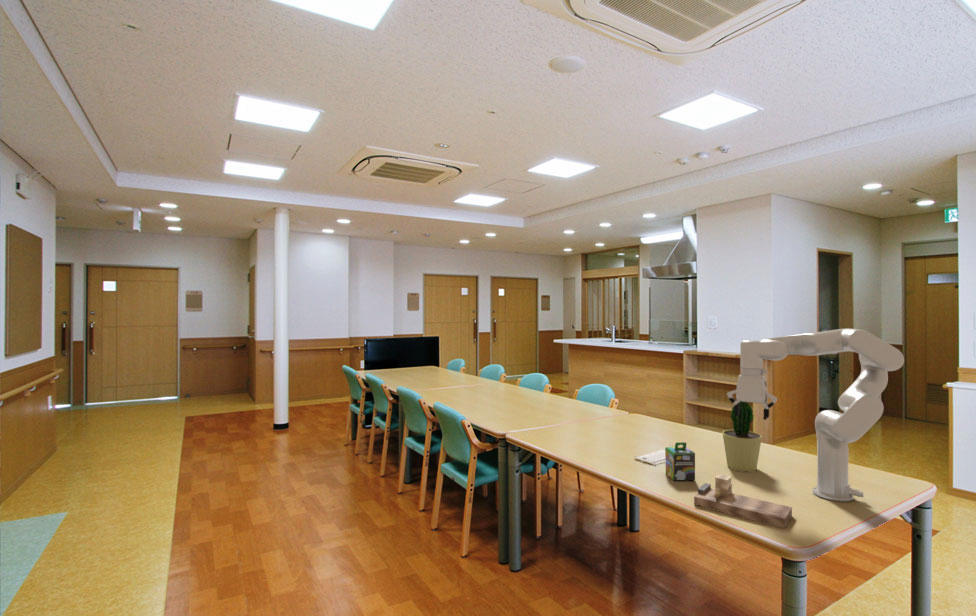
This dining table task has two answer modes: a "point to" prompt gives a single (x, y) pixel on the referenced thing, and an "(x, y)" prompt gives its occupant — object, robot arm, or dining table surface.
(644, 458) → the baseboard molding
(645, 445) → the dining table surface
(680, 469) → the chalk box
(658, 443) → the dining table surface
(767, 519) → the walnut board
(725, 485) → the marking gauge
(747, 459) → the potted cactus
